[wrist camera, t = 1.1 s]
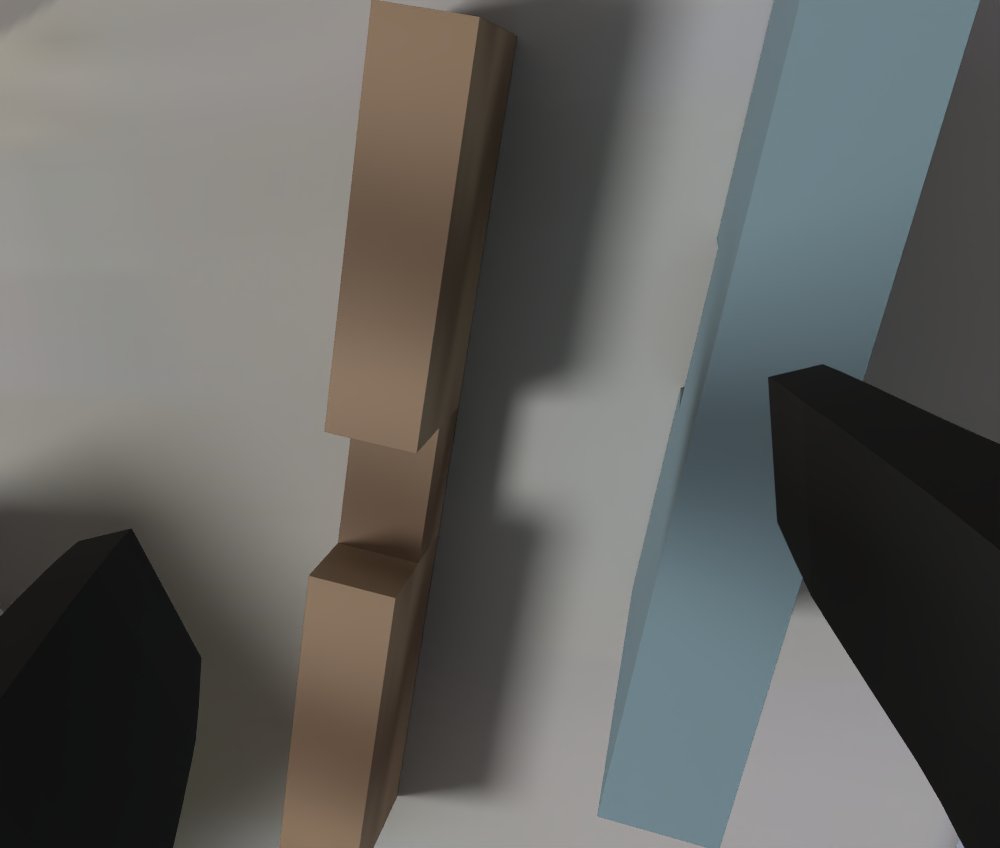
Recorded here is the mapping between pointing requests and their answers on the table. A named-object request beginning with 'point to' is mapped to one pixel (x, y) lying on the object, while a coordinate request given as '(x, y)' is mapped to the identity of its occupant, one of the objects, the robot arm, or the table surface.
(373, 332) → the walnut slotted plate
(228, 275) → the table surface
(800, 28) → the teal slotted plate
